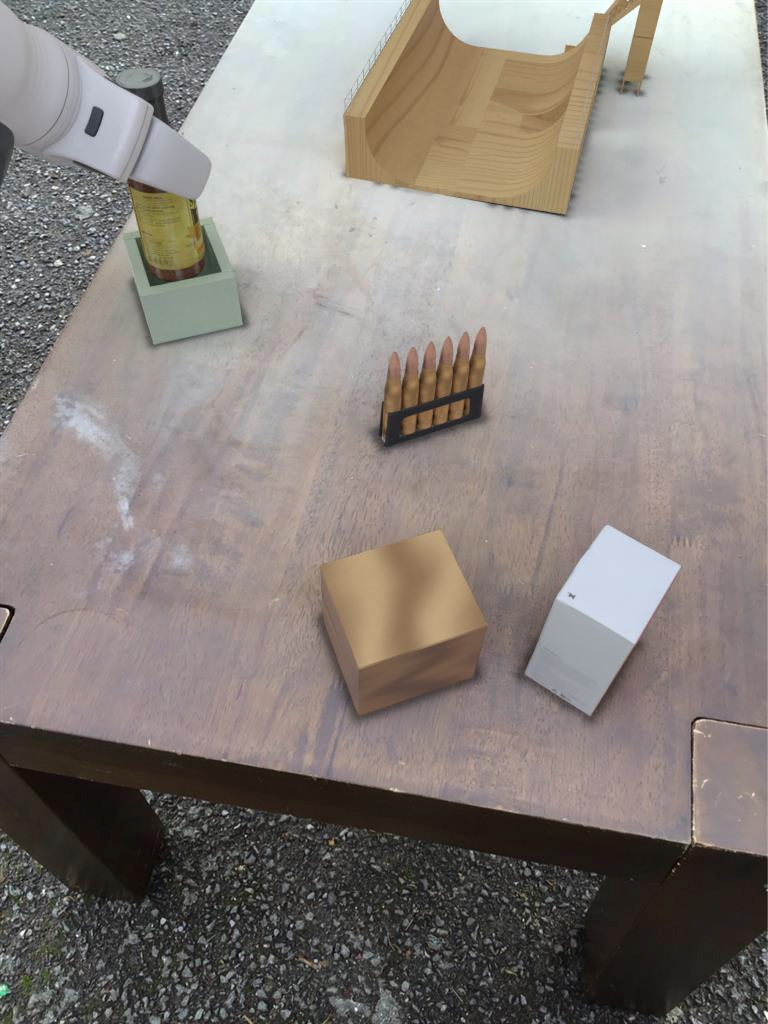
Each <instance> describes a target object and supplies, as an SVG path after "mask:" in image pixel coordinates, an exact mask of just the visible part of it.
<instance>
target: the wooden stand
mask: <svg viewBox="0 0 768 1024" xmlns="http://www.w3.org/2000/svg"><path fill="white" fill-rule="evenodd" d="M319 573H320V585H321V586H320V587H321V601H322V617H323V624H324V627H325V629H326V632H327V635H328V637H329V641H330V643H331V645H332V649H333V651H334V653H335V656H336V658H337V662H338V664H339V668H340V670H341V673H342V675H343V678H344V681H345V684H346V686H347V689H348V693H349V694H350V698H351V700H352V703H353V706H354V708H355V712H356V713H357V716H358V717H360V716H364V715H367V714H369V713H372V712H375V711H378V710H380V709H385V708H388V707H389V706H393V705H396V704H398V703H402V702H405V701H406V700H410V699H413V698H416V697H419V696H423V695H425V694H427V693H431V692H434V691H437V690H439V689H443V688H445V687H448V686H451V685H454V684H457V683H460V682H463V681H465V680H469V679H471V678H474V676H475V672H476V668H477V665H478V662H479V658H480V655H481V651H482V647H483V643H484V640H485V638H486V637H485V636H486V633H487V630H488V628H489V624H488V622H487V620H486V618H485V616H484V614H483V612H482V610H481V608H480V606H479V603H478V602H477V599H476V597H475V596H474V593H473V591H472V590H471V588H470V586H469V584H468V581H467V580H466V577H465V575H464V573H463V571H462V569H461V568H460V566H459V564H458V562H457V559H456V558H455V555H454V553H453V551H452V550H451V548H450V545H449V544H448V542H447V539H446V537H445V535H444V533H443V531H442V529H437V530H434V531H431V532H426V533H424V534H420V535H417V536H416V535H415V536H413V537H409V538H406V539H402V540H400V541H396V542H393V543H389V544H386V545H382V546H380V547H376V548H372V549H369V550H366V551H363V552H359V553H355V554H353V555H348V556H346V557H343V558H338V559H337V560H336V559H335V560H332V561H329V562H325V563H321V564H319Z"/></svg>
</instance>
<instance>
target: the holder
mask: <svg viewBox="0 0 768 1024" xmlns="http://www.w3.org/2000/svg"><path fill="white" fill-rule="evenodd" d="M199 221H200V226H201V232H202V238H203V244H204V249H205V252H204V258H205V259H204V261H205V263H204V268H203V270H202V271H201V273H200V274H199V275H198V276H196V277H194V278H191V279H186V280H181V281H176V282H166V281H163V280H161V279H158V278H157V277H155V276H154V275H153V274H152V273H151V271H150V268H149V265H148V261H146V258H145V254H144V250H143V246H142V242H141V238H140V234H139V230H135V231H129V232H125V233H122V234H121V236H122V239H123V243H124V247H125V250H126V254H127V259H128V261H129V265H130V267H131V273H132V277H133V280H134V284H135V286H136V290H137V293H138V294H137V295H138V297H139V300H140V303H141V307H142V311H143V312H144V317H145V320H146V324H147V327H148V330H149V334H150V337H151V340H152V343H153V345H154V346H155V345H159V344H164V343H167V342H172V341H177V340H183V339H186V338H190V337H191V338H192V337H195V336H199V335H203V334H204V335H205V334H208V333H213V332H217V331H222V330H227V329H231V328H236V327H240V326H243V325H244V323H243V316H242V309H241V302H240V296H239V289H238V282H237V281H238V280H237V276H236V274H235V271H234V269H233V267H232V263H231V262H230V259H229V257H228V254H227V252H226V248H225V246H224V244H223V241H222V239H221V237H220V235H219V232H218V230H217V227H216V225H215V222H214V220H213V217H212V216H209V217H203V218H199Z"/></svg>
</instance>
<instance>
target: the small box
mask: <svg viewBox="0 0 768 1024" xmlns="http://www.w3.org/2000/svg"><path fill="white" fill-rule="evenodd" d="M681 569H682V565H681V564H680V563H678V562H676V561H674V560H672V559H670V558H668V557H667V556H665V555H663V554H661V553H660V552H658V551H656V550H654V549H652V548H651V547H649V546H647V545H645V544H643V543H641V542H639V541H638V540H636V539H634V538H632V537H630V536H629V535H627V534H626V533H624V532H622V531H620V530H618V529H617V528H616V527H613V526H612V525H610V524H605V525H604V526H603V528H602V529H601V530H600V531H599V533H598V535H597V536H596V537H595V539H594V540H593V542H592V543H591V544H590V545H589V547H588V549H587V550H586V551H585V552H584V554H583V555H582V556H581V558H580V559H579V560H578V563H576V565H575V567H574V568H573V570H572V572H571V573H570V575H569V576H568V578H567V580H566V581H565V583H564V584H563V586H561V589H560V590H559V592H558V593H557V594H556V596H555V598H554V601H553V603H552V606H551V607H550V610H549V611H548V612H549V613H548V615H547V617H546V620H545V622H544V625H543V627H542V630H541V632H540V635H539V637H538V640H537V642H536V645H535V648H534V650H533V652H532V655H531V657H530V659H529V661H528V664H527V666H526V667H525V670H524V672H523V673H524V676H527V678H529V679H531V680H533V681H534V682H536V683H537V684H538V685H540V686H542V687H543V688H545V689H547V690H548V691H550V692H551V693H552V694H554V695H556V696H558V697H559V698H560V699H562V700H564V701H565V702H567V703H569V704H570V705H572V706H573V707H575V708H576V709H578V710H579V711H581V712H582V713H584V714H586V715H587V716H589V717H591V716H592V715H593V714H594V712H595V711H596V709H597V708H598V706H599V704H600V703H601V701H602V700H603V698H604V696H605V695H606V693H607V692H608V690H609V688H610V687H611V685H612V683H613V682H614V680H615V679H616V677H617V675H618V674H619V672H620V671H621V669H622V668H623V666H624V665H625V663H626V661H627V660H628V658H629V657H630V655H631V654H632V652H633V651H634V649H635V647H636V646H637V645H638V643H639V641H640V640H641V639H642V637H643V635H644V634H645V632H646V630H647V628H648V627H649V625H650V624H651V622H652V620H653V619H654V617H655V615H656V613H657V612H658V610H659V608H660V606H661V605H662V603H663V601H664V600H665V598H666V596H667V594H668V592H669V590H670V589H671V587H672V585H673V584H674V582H675V580H676V579H677V577H678V576H679V573H680V571H681Z"/></svg>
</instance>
